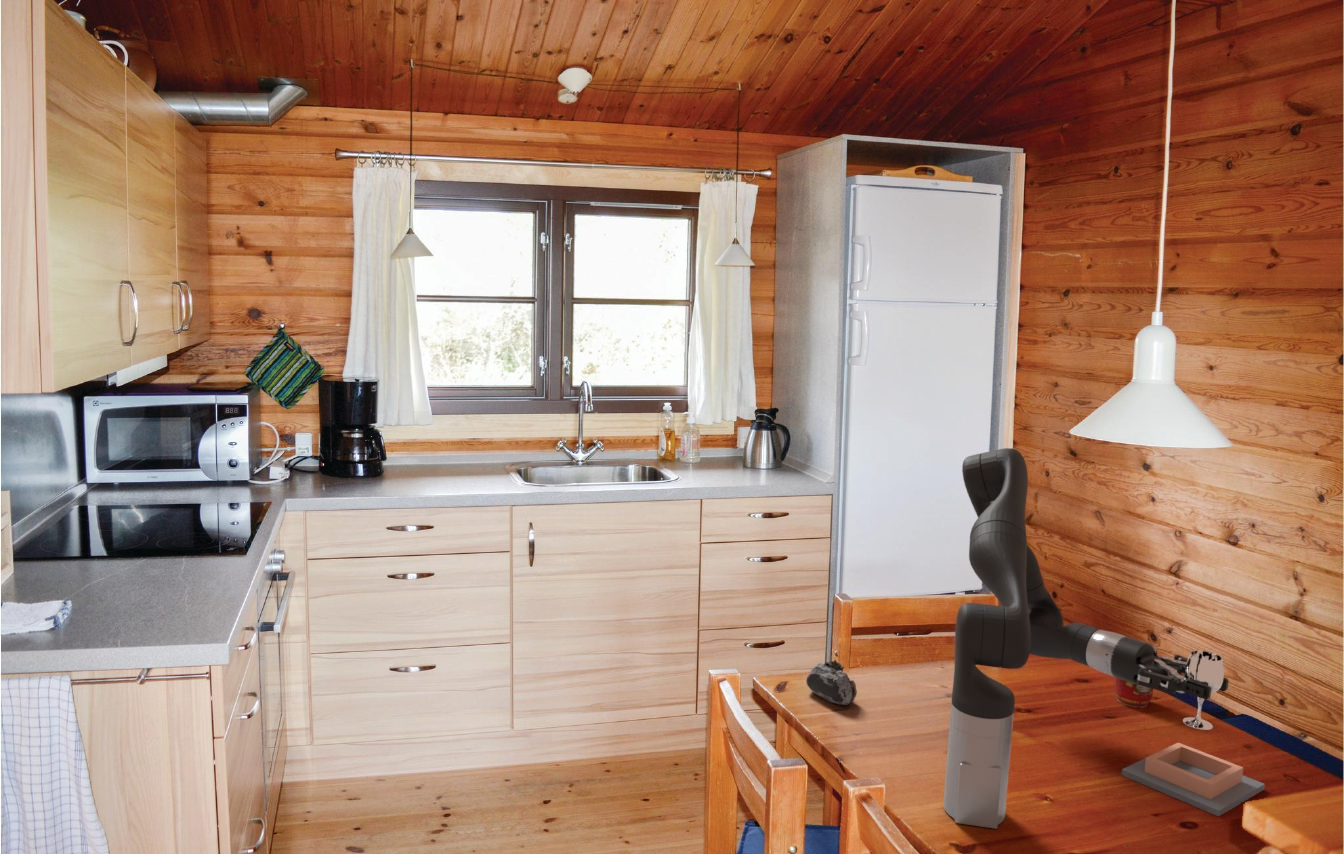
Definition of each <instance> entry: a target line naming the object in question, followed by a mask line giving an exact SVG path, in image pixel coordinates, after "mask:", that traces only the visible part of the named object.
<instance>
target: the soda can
mask: <svg viewBox="0 0 1344 854" xmlns="http://www.w3.org/2000/svg"><path fill="white" fill-rule="evenodd" d="M1143 642H1145V641H1144V640H1143ZM1153 648H1154V650H1155V653H1156V655H1157V656H1158V650H1157V648H1156V647H1155V646H1153ZM1114 678H1115V680H1114V688H1113V689H1114V691H1113V692H1114V694H1115V696H1116V701H1118V702H1119V703H1120V704H1122V705H1125V706H1127V707H1132V708H1137V707H1140V708H1141V709H1143V708H1146V707H1147V706H1148V704H1149V702H1150V701H1151V700H1153V696H1154V695H1153V694H1154V689H1152V688H1148V687H1145V686H1141V685H1136V684H1133V683H1130V682H1128V681H1125V680H1122V679H1119V678H1116V677H1114ZM1140 708H1139V709H1140Z"/></svg>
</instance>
